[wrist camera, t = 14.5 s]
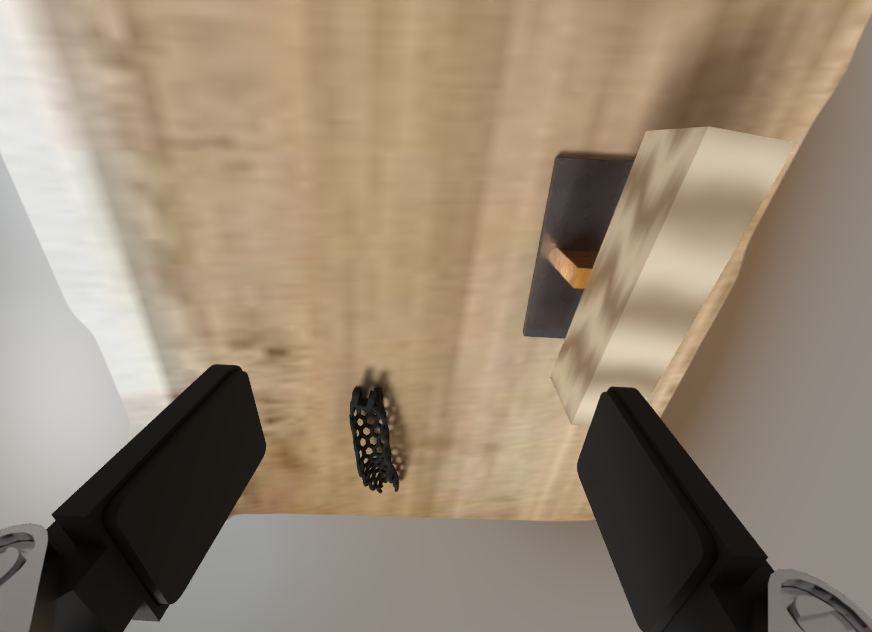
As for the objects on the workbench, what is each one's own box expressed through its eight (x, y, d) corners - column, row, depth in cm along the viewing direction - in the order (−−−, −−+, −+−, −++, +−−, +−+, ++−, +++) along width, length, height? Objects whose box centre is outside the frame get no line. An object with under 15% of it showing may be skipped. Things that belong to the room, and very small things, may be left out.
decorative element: (405, 479, 56) (401, 514, 51) (376, 481, 57) (369, 515, 51) (382, 370, 46) (374, 399, 41) (346, 373, 47) (334, 402, 41)
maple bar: (646, 130, 26) (708, 126, 20) (713, 143, 26) (796, 142, 20) (550, 377, 37) (571, 424, 31) (598, 384, 37) (628, 432, 31)
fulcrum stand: (555, 157, 33) (580, 160, 27) (676, 163, 33) (729, 167, 27) (522, 332, 42) (535, 364, 36) (617, 337, 42) (647, 370, 36)
